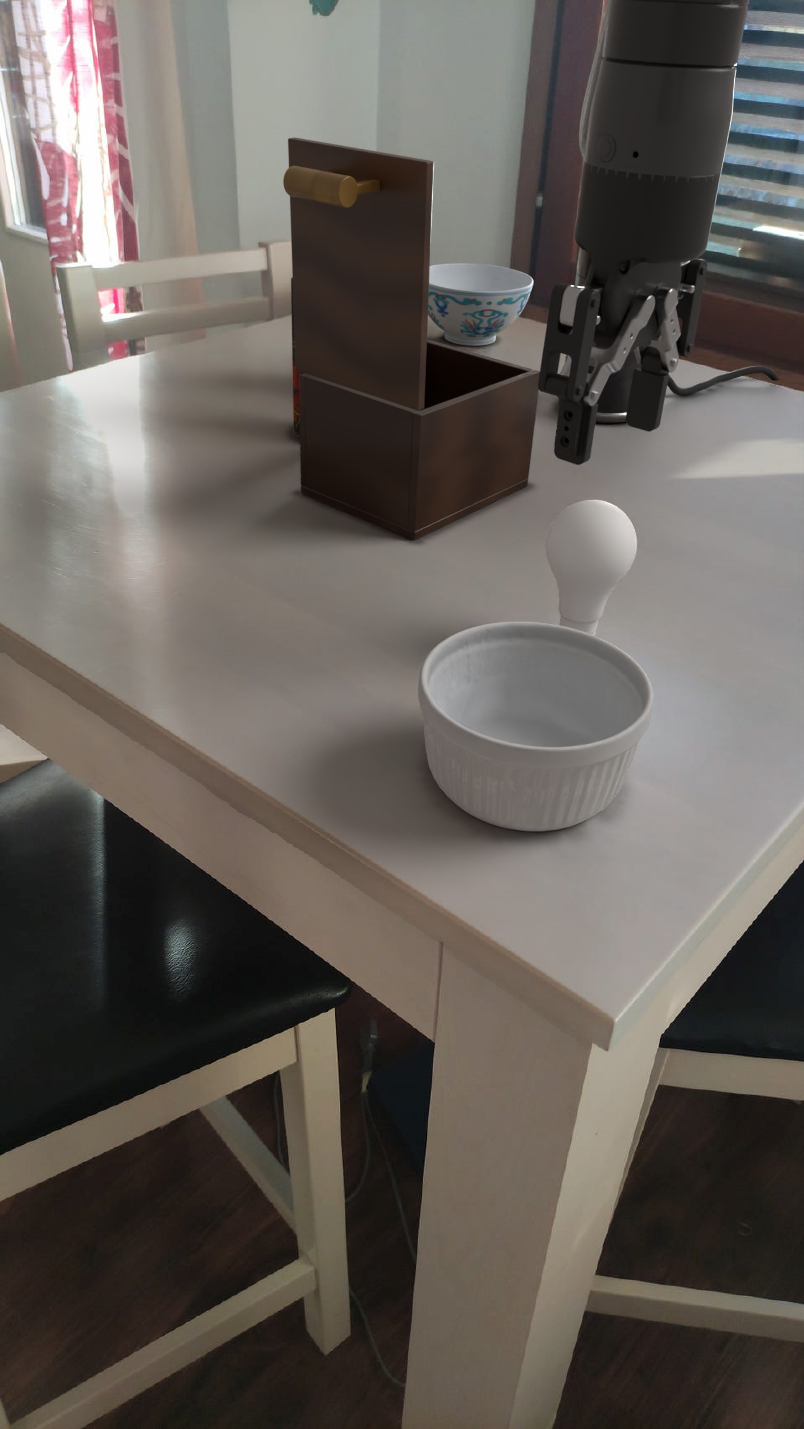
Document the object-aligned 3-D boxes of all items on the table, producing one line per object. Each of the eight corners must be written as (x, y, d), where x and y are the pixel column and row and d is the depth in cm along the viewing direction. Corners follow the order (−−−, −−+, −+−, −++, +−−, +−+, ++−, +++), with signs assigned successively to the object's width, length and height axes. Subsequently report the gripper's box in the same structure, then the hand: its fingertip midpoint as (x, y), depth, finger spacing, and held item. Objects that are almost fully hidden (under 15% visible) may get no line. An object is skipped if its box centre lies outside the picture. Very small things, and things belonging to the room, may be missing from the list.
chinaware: (404, 349, 134) (407, 285, 129) (422, 319, 146) (425, 259, 141) (522, 360, 132) (529, 295, 127) (530, 328, 144) (536, 268, 140)
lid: (295, 137, 79) (242, 144, 76) (434, 161, 72) (383, 169, 69) (301, 368, 90) (255, 383, 86) (424, 408, 83) (379, 426, 79)
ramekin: (473, 874, 56) (484, 772, 52) (378, 736, 66) (382, 641, 62) (677, 816, 61) (702, 719, 57) (561, 695, 71) (575, 605, 67)
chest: (417, 447, 106) (423, 338, 100) (527, 486, 99) (541, 371, 93) (300, 493, 96) (298, 374, 90) (414, 540, 89) (420, 415, 83)
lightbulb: (624, 634, 78) (650, 494, 71) (609, 675, 73) (636, 530, 67) (543, 617, 79) (562, 479, 73) (523, 657, 74) (542, 513, 68)
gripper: (647, 180, 51) (598, 491, 61) (772, 158, 61) (713, 432, 70) (522, 160, 55) (494, 456, 65) (657, 142, 64) (615, 404, 74)
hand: (607, 443), depth 67 cm, fingers open, 8 cm apart
